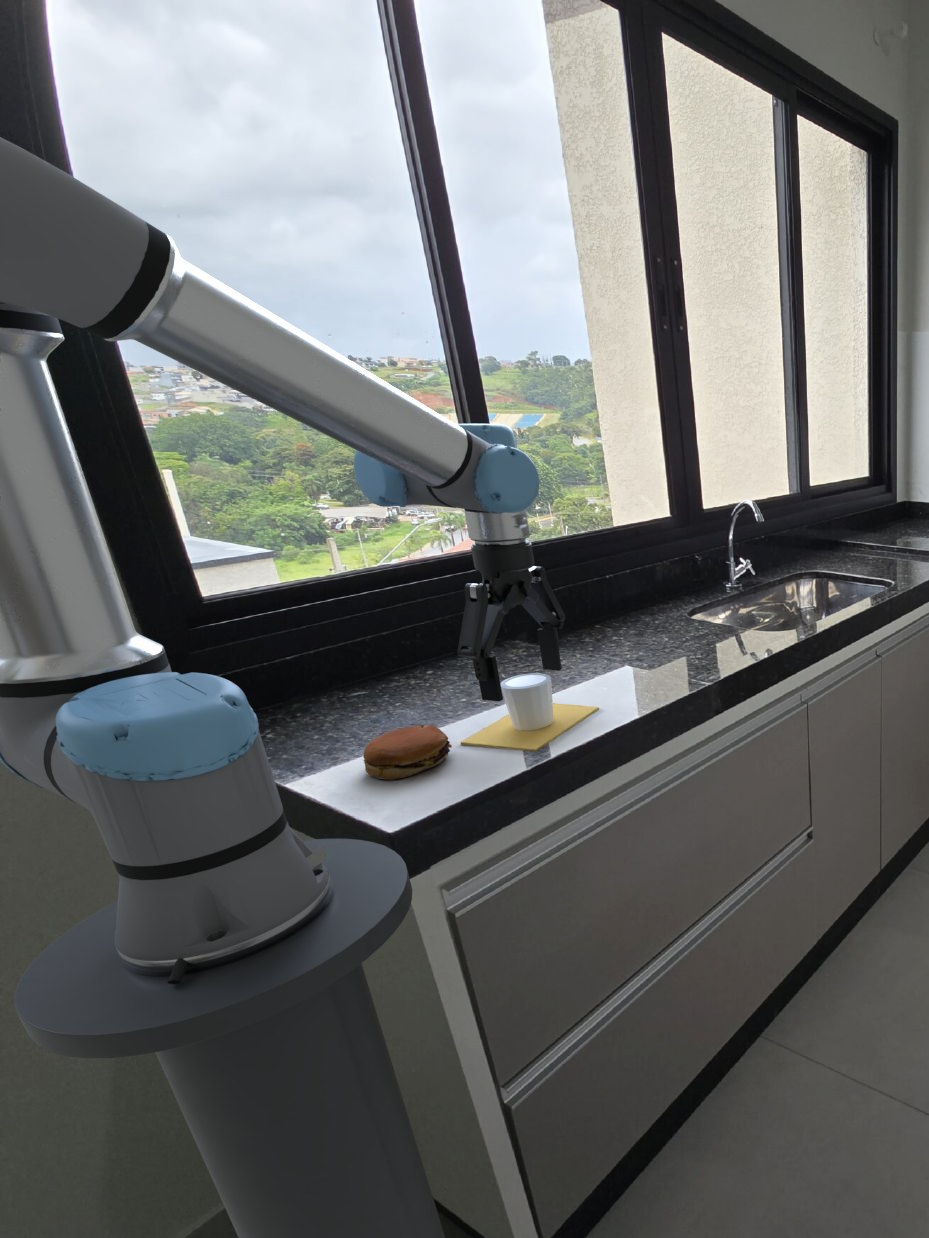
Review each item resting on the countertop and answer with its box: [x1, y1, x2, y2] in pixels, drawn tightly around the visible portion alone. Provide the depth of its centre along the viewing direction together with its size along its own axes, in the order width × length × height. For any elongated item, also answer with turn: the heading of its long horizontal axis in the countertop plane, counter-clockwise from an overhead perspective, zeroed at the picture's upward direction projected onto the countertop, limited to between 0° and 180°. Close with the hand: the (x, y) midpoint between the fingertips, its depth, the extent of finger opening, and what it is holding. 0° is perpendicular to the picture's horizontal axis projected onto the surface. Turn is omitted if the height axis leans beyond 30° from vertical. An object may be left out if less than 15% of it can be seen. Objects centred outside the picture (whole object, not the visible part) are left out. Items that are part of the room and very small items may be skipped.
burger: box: [363, 724, 453, 781], centre depth 100 cm, size 10×9×5 cm
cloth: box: [459, 702, 600, 752], centre depth 113 cm, size 16×12×1 cm
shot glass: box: [500, 672, 554, 731], centre depth 112 cm, size 7×7×7 cm
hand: (524, 683), depth 110 cm, fingers open, 13 cm apart
